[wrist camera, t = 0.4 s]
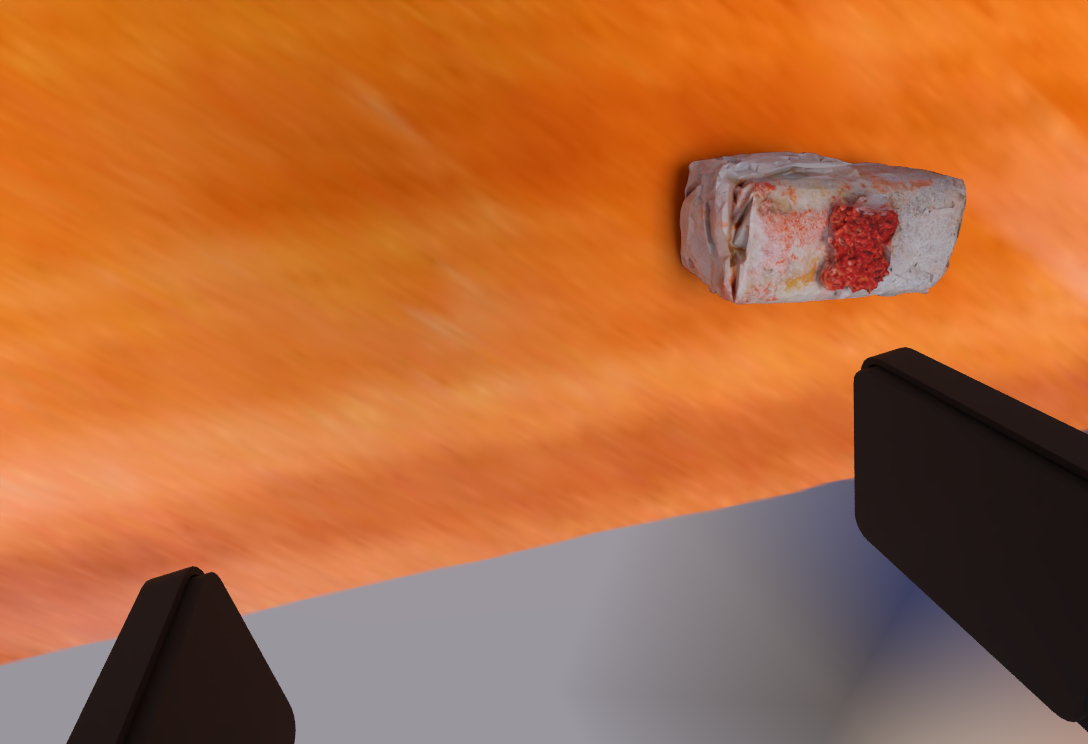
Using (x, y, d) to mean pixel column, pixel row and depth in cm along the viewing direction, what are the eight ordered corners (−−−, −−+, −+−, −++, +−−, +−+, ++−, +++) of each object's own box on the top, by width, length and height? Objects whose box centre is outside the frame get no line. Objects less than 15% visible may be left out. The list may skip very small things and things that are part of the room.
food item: (662, 284, 41) (738, 337, 32) (669, 149, 38) (756, 166, 29) (856, 268, 44) (977, 313, 35) (878, 140, 41) (1017, 154, 32)
